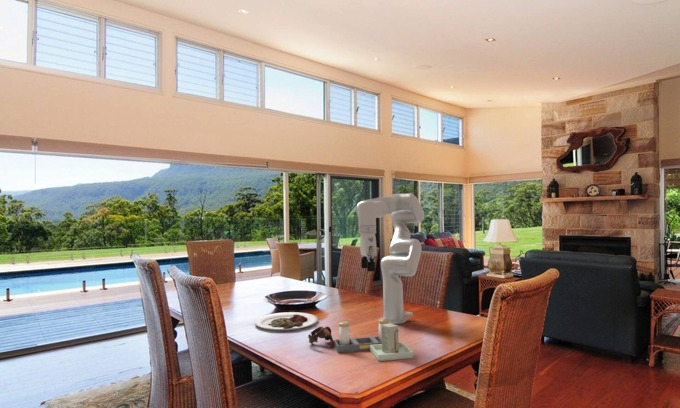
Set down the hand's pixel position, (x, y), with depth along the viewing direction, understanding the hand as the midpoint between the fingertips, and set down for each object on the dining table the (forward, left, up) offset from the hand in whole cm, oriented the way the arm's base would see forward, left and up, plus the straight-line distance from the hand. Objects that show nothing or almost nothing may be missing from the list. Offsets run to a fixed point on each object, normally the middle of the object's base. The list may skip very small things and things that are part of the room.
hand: (367, 269), depth 171 cm
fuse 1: (+14, +13, -28) cm, 34 cm away
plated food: (+33, -29, -29) cm, 53 cm away
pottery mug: (+21, +6, -29) cm, 36 cm away
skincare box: (-2, +23, -28) cm, 36 cm away
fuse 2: (-2, +13, -28) cm, 31 cm away
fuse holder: (+6, +13, -28) cm, 32 cm away
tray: (-2, +23, -28) cm, 37 cm away
